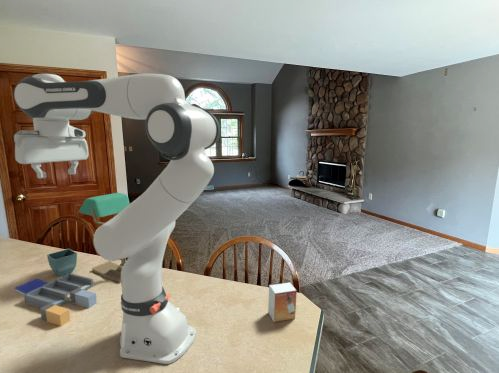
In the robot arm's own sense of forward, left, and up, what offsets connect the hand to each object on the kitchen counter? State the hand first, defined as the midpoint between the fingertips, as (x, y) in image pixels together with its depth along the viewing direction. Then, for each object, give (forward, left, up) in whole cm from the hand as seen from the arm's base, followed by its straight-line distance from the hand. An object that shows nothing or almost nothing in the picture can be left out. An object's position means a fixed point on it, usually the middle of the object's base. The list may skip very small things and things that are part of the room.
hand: (57, 176), depth 84 cm
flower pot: (+29, -18, -47) cm, 59 cm away
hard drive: (+28, -5, -48) cm, 55 cm away
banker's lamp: (+9, -26, -47) cm, 55 cm away
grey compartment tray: (+14, -6, -47) cm, 50 cm away
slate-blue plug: (+1, -5, -47) cm, 47 cm away
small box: (-68, -24, -47) cm, 86 cm away
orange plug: (+1, +5, -47) cm, 47 cm away
